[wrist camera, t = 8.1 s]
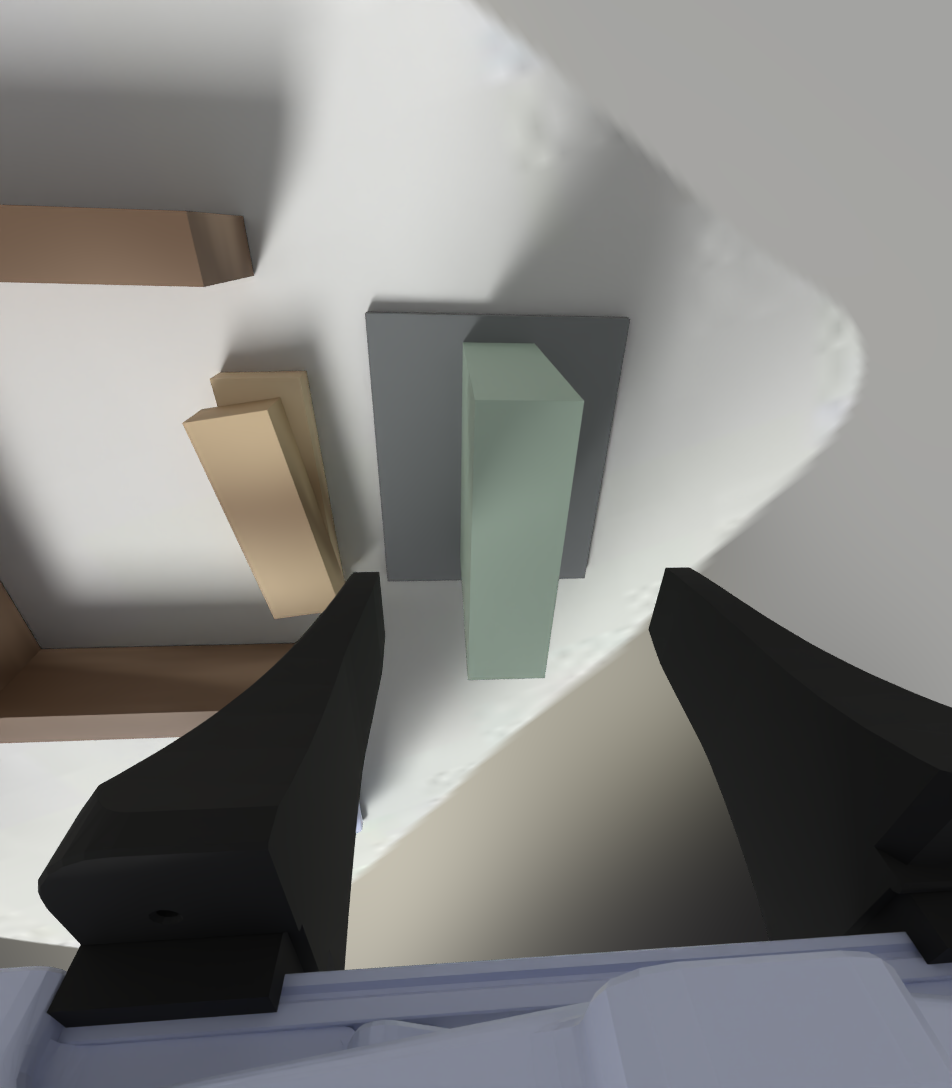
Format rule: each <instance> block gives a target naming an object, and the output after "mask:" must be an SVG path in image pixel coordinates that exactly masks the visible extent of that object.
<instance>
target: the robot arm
mask: <svg viewBox="0 0 952 1088" xmlns="http://www.w3.org/2000/svg"><path fill="white" fill-rule="evenodd" d="M649 632H650V635H651V638H652V641H653V644H654V647H655V650H656V653H657V656H658V658H659V661H660V664H661V666H662V668H663V670H664V672H665V674H666V676H667V678H668V680H669V682H670V684H671V686H672V688H673V690H674V692H675V694H676V696H677V698H678V700H679V702H680V703H681V705H682V707H683V709H684V711H685V713H686V715H687V717H688V719H689V721H690V723H691V725H692V727H693V729H694V730H695V732H696V734H697V736H698V738H699V740H700V742H701V744H702V746H703V748H704V751H705V753H706V755H707V757H708V759H709V762H710V765H711V767H712V769H713V772H714V775H715V777H716V780H717V782H718V785H719V788H720V790H721V793H722V795H723V798H724V801H725V803H726V806H727V809H728V812H729V814H730V817H731V820H732V823H733V826H734V828H735V831H736V834H737V837H738V839H739V843H740V846H741V849H742V852H743V855H744V858H745V861H746V864H747V867H748V870H749V873H750V876H751V880H752V883H753V886H754V889H755V892H756V895H757V899H758V903H759V906H760V910H761V913H762V917H763V920H764V923H765V927H766V930H767V934H768V937H769V941H762V942H748V943H733V944H719V945H704V946H691V947H690V946H689V947H676V948H661V949H647V950H632V951H617V952H602V953H587V954H574V955H573V954H572V955H559V956H543V957H529V958H515V959H500V960H485V961H471V962H456V963H442V964H426V965H412V966H397V967H383V968H368V969H353V970H344V968H345V955H346V942H347V929H348V916H349V904H350V891H351V880H352V869H353V857H354V847H355V837H356V833H358V832H360V831H361V830H362V827H363V821H362V815H361V810H360V804H359V797H360V788H361V779H362V770H363V764H364V758H365V752H366V748H367V743H368V738H369V733H370V728H371V724H372V719H373V714H374V709H375V704H376V699H377V695H378V690H379V685H380V680H381V675H382V667H383V656H384V643H385V629H384V619H383V608H382V598H381V587H380V577H379V572H354V573H353V574H352V575H351V576H350V577H349V578H348V579H347V581H346V582H345V584H344V585H343V586H342V588H341V589H340V591H339V592H338V593H337V595H336V596H335V597H334V599H333V600H332V601H331V602H330V604H329V605H328V606H327V608H326V609H325V610H324V611H323V612H322V614H321V615H320V616H319V617H318V618H317V620H316V621H315V622H314V623H313V625H312V626H311V627H310V628H309V629H308V630H307V631H306V633H305V634H304V635H303V636H302V637H301V638H300V639H299V640H298V641H297V642H296V643H295V644H294V645H293V646H292V648H291V649H290V650H289V651H288V652H287V653H286V654H285V655H284V656H283V657H282V658H281V659H280V660H279V661H278V662H277V663H276V664H275V665H274V666H273V667H271V668H270V669H269V670H268V671H267V672H266V673H265V674H264V675H263V676H262V677H260V678H259V679H258V680H257V681H256V682H255V683H254V684H253V685H251V686H250V687H249V688H248V689H246V690H245V691H244V692H243V693H241V694H240V695H239V696H238V697H236V698H235V699H234V700H232V701H231V702H230V703H229V704H227V705H226V706H225V707H223V708H222V709H221V710H219V711H218V712H217V713H215V714H214V715H213V716H211V717H210V718H208V719H207V720H206V721H204V722H203V723H201V724H200V725H198V726H197V727H195V728H194V729H193V730H191V731H189V732H188V733H186V734H185V735H183V736H182V737H180V738H179V739H177V740H176V741H174V742H173V743H171V744H169V745H168V746H166V747H165V748H163V749H161V750H160V751H158V752H157V753H155V754H153V755H151V756H150V757H148V758H146V759H144V760H143V761H141V762H139V763H137V764H136V765H134V766H132V767H130V768H129V769H127V770H125V771H124V772H122V773H120V774H118V775H117V776H115V777H113V778H111V779H109V780H108V781H106V782H104V783H102V784H100V785H99V786H98V787H97V789H96V790H95V792H94V793H93V794H92V796H91V797H90V799H89V800H88V801H87V803H86V804H85V805H84V807H83V808H82V810H81V811H80V813H79V814H78V816H77V818H76V819H75V821H74V822H73V824H72V826H71V827H70V829H69V831H68V832H67V834H66V835H65V837H64V839H63V840H62V842H61V844H60V845H59V847H58V849H57V850H56V852H55V853H54V855H53V857H52V858H51V860H50V862H49V863H48V865H47V866H46V868H45V870H44V871H43V873H42V875H41V876H40V878H39V879H38V893H39V895H40V898H41V900H42V901H43V903H44V904H45V906H46V908H47V909H48V910H49V911H50V912H51V913H52V914H53V916H54V917H55V918H56V919H57V920H58V921H59V922H60V923H61V924H62V925H63V926H64V927H65V928H66V929H67V930H68V931H69V932H70V933H71V935H72V936H73V937H74V938H75V939H76V940H77V941H78V942H79V943H80V944H81V946H80V947H79V949H78V951H77V954H76V955H75V957H74V959H73V961H72V963H71V965H70V967H69V969H68V971H67V972H66V971H64V970H63V969H59V968H54V967H48V966H31V967H16V968H1V969H0V1088H952V708H951V707H949V706H946V705H943V704H940V703H938V702H935V701H932V700H930V699H928V698H925V697H923V696H920V695H918V694H915V693H913V692H910V691H908V690H906V689H903V688H901V687H899V686H896V685H894V684H892V683H889V682H887V681H885V680H883V679H881V678H878V677H876V676H874V675H871V674H869V673H867V672H865V671H863V670H861V669H859V668H857V667H855V666H853V665H851V664H848V663H847V662H845V661H843V660H841V659H839V658H837V657H835V656H833V655H831V654H829V653H827V652H825V651H823V650H822V649H820V648H818V647H816V646H814V645H812V644H810V643H809V642H807V641H805V640H804V639H802V638H800V637H799V636H797V635H795V634H793V633H792V632H790V631H788V630H787V629H785V628H783V627H782V626H780V625H778V624H777V623H775V622H774V621H772V620H770V619H769V618H767V617H766V616H764V615H762V614H761V613H759V612H758V611H756V610H755V609H753V608H752V607H750V606H749V605H747V604H745V603H744V602H742V601H741V600H739V599H738V598H736V597H735V596H733V595H732V594H730V593H729V592H727V591H726V590H724V589H723V588H721V587H720V586H718V585H717V584H715V583H714V582H712V581H710V580H709V579H708V578H706V577H704V576H703V575H701V574H700V573H698V572H696V571H694V570H693V569H691V568H666V569H665V572H664V576H663V579H662V583H661V586H660V590H659V594H658V597H657V601H656V604H655V608H654V611H653V615H652V619H651V622H650V626H649Z"/></svg>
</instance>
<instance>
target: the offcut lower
mask: <svg viewBox="0 0 952 1088" xmlns="http://www.w3.org/2000/svg"><path fill="white" fill-rule="evenodd" d="M210 381H211V385H212V388H213V392H214V395H215V399H216V402H217V406H218V407H220V406H226V405H233V404H239V403H246V402H252V401H259V400H265V399H271V398H278V397H280V398H281V401H282V404H283V406H284V409H285V412H286V415H287V418H288V421H289V424H290V426H291V429H292V432H293V435H294V438H295V441H296V444H297V446H298V449H299V452H300V455H301V458H302V461H303V464H304V466H305V469H306V472H307V475H308V478H309V481H310V484H311V486H312V489H313V492H314V495H315V498H316V501H317V504H318V506H319V509H320V512H321V515H322V518H323V521H324V523H325V526H326V529H327V532H328V535H329V538H330V541H331V543H332V546H333V549H334V552H335V555H336V558H337V561H338V563H339V566H340V569H341V572H342V575H343V571H342V566H341V560H340V555H339V549H338V544H337V538H336V533H335V527H334V522H333V516H332V510H331V505H330V499H329V494H328V488H327V483H326V477H325V472H324V466H323V461H322V455H321V450H320V444H319V439H318V433H317V428H316V422H315V417H314V411H313V405H312V400H311V394H310V389H309V383H308V378H307V372H306V371H274V372H220V373H219V374H217V375H215V376H214V377H212V378H211V379H210ZM343 578H344V577H343Z"/></svg>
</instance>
